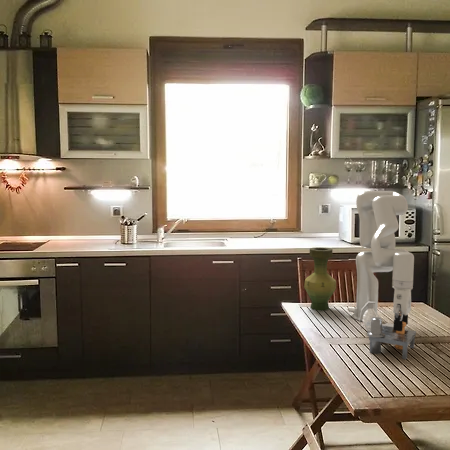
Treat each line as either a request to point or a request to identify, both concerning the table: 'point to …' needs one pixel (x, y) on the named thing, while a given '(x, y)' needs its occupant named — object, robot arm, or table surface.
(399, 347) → the pin
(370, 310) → the hand grenade
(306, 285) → the vase
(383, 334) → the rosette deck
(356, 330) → the table surface
